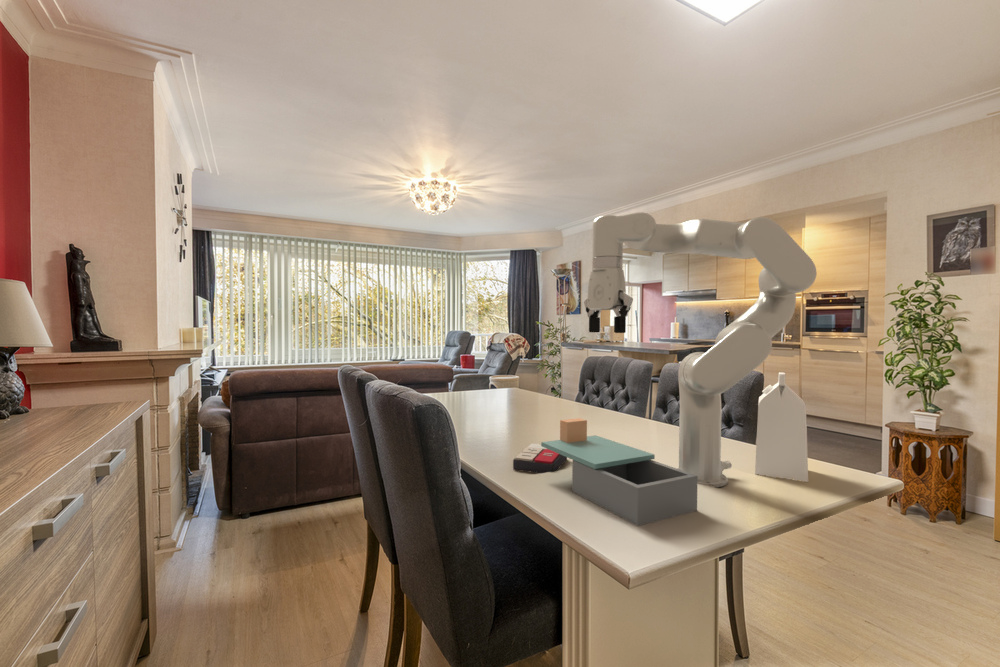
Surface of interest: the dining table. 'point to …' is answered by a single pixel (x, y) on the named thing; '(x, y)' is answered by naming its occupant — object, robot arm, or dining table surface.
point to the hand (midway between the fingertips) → (606, 332)
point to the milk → (781, 433)
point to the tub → (637, 490)
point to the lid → (592, 447)
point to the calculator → (538, 459)
